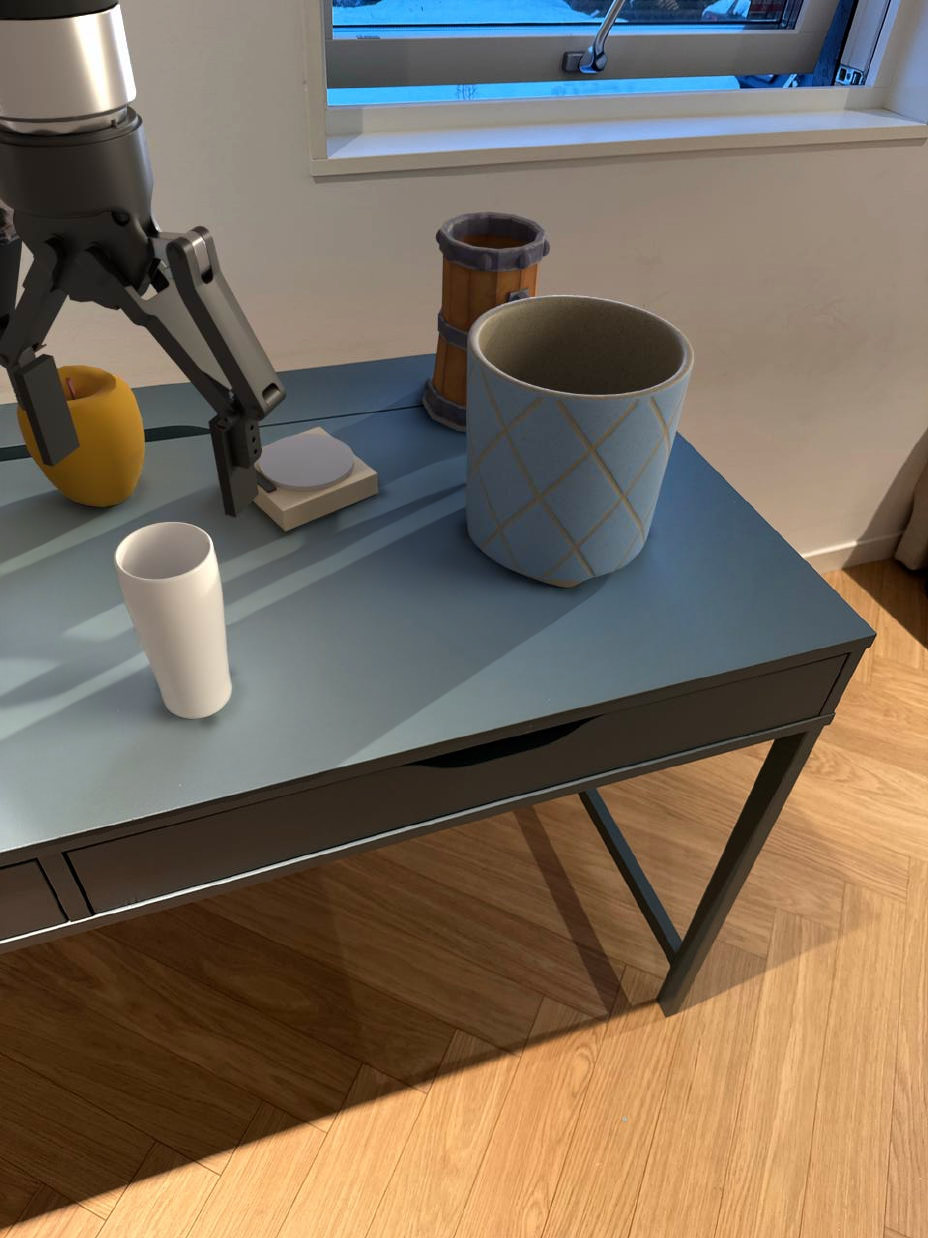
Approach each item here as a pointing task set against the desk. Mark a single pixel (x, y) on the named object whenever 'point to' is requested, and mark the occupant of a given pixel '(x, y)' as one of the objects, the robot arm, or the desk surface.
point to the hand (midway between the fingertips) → (149, 479)
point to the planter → (569, 432)
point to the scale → (310, 478)
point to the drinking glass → (178, 613)
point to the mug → (477, 294)
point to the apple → (95, 438)
